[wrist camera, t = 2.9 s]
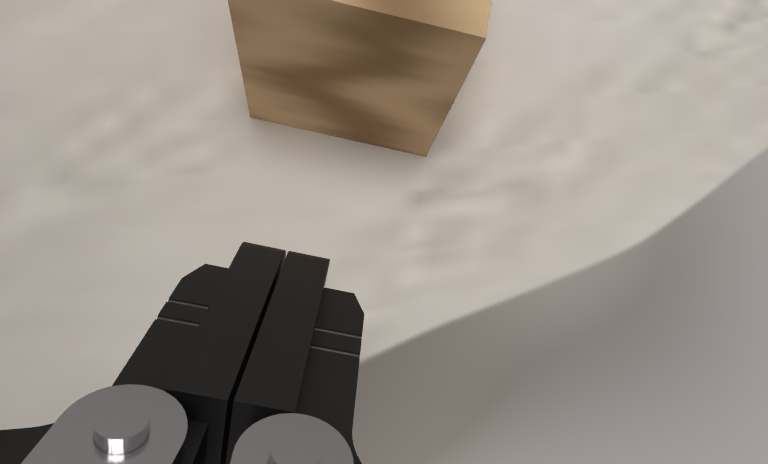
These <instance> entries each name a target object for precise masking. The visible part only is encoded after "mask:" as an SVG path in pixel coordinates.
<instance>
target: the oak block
mask: <svg viewBox="0 0 768 464" xmlns="http://www.w3.org/2000/svg"><path fill="white" fill-rule="evenodd" d="M491 2H492V0H228V3H229V8H230V14H231V19H232V24H233V29H234V35H235V40H236V45H237V50H238V55H239V61H240V66H241V71H242V76H243V81H244V87H245V92H246V97H247V102H248V108H249V113H250V117H251V118H256V119H260V120H264V121H269V122H273V123H278V124H282V125H287V126H291V127H296V128H300V129H305V130H309V131H314V132H318V133H323V134H327V135H331V136H336V137H340V138H345V139H349V140H354V141H358V142H363V143H367V144H372V145H376V146H381V147H385V148H390V149H394V150H398V151H403V152H407V153H412V154H416V155H421V156H425V157H426V155H427V153H428V151H429V149H430V147H431V145H432V143H433V141H434V139H435V137H436V136H437V134H438V132H439V130H440V128H441V126H442V124H443V122H444V120H445V118H446V116H447V114H448V112H449V110H450V108H451V106H452V104H453V102H454V100H455V98H456V96H457V94H458V92H459V90H460V88H461V86H462V85H463V83H464V81H465V79H466V77H467V75H468V73H469V71H470V69H471V67H472V65H473V63H474V61H475V59H476V57H477V55H478V53H479V51H480V49H481V47H482V45H483V43H484V41H485V39H486V36H487V29H488V22H489V15H490V8H491Z"/></svg>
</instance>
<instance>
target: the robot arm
mask: <svg viewBox="0 0 768 464" xmlns="http://www.w3.org/2000/svg"><path fill="white" fill-rule="evenodd" d="M285 258H286V259H285ZM329 261H330V259H326V258H321V257H316V256H311V255H306V254H302V253H297V252H292V251H289V252H288V254H287V256H286V251H285V250H281V249H276V248H271V247H266V246H262V245H257V244H252V243H247V242H243V243H242V244H241V246H240V248H239V250H238V252H237V254H236V255H235V257H234V259H233V261H232V263H231V265H230V267H229V269H228V268H223V267H218V266H213V265H208V264H204V265H203V266H201V267H199V268H198V269H196V270H195V271H193V272H191V273H190V274H188V275H186V276H185V277H183V278H182V279H181V280H180V282H179V283H178V285H177V287H176V288H175V290H174V291H173V293H172V294H171V296H170V297H169V301H168V302H166V304H165V305H164V307H163V308H162V310H161V311H160V313H159V314H158V318H157V320H156V319H155V321H154V322H153V324H152V325H151V327H150V328H149V330H148V331H147V333H146V334H145V336H144V337H143V339H142V341H141V342H140V344H139V345H138V347H137V348H136V350H135V351H134V353H133V354H132V356H131V358H130V359H129V361H128V362H127V364H126V365H125V367H124V368H123V370H122V371H121V373H120V374H119V376H118V378H117V379H116V381H115V382H114V384H113V385H112V387H107V388H104V389H101V390H97V391H95V392H93V393H90V394H88V395H86V396H85V397H83V398H81V399H79V400H78V401H76V402H75V403H74V404H72V405H71V406H70V407H69V408H68V409H67V410H66V411H65V412H64V413H63V414H62V415H61V416H60V417H59V418H58V420H57V421H56V422H55V423H53V424H49V425H44V426H39V427H32V428H23V429H11V430H0V464H362V463H361V462H360V460H359V458H358V456H357V454H356V451H355V449H354V445H353V440H352V426H353V417H354V406H355V397H356V388H357V378H358V368H359V359H360V358H359V356H360V349H361V337H362V330H363V320H364V313H363V311H362V309H361V307H360V305H359V303H358V300H357V298H356V296H355V294H354V293H349V292H344V291H339V290H334V289H329V288H324V286H325V282H326V277H327V272H328V267H329Z"/></svg>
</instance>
